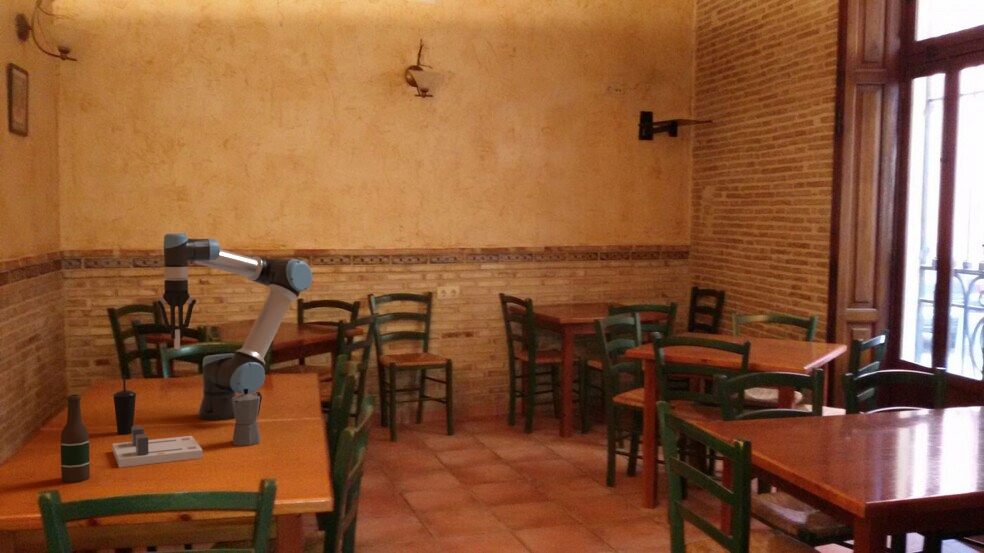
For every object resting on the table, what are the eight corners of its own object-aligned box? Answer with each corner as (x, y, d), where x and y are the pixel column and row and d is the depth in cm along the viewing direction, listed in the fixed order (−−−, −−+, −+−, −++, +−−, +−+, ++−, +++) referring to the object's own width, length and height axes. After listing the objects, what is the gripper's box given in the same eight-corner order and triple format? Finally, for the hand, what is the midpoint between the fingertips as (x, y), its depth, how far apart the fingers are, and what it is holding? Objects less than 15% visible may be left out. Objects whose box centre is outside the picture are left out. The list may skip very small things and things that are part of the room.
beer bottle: (66, 475, 258) (64, 392, 257) (94, 474, 259) (92, 392, 257) (55, 483, 251) (53, 398, 249) (84, 483, 251) (82, 398, 250)
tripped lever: (146, 449, 276) (146, 433, 276) (148, 453, 271) (148, 437, 271) (135, 451, 275) (135, 434, 274) (137, 454, 270) (137, 438, 270)
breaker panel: (191, 443, 295) (191, 435, 295) (202, 458, 278) (202, 449, 277) (112, 451, 284) (112, 443, 284) (118, 467, 266) (118, 458, 266)
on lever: (141, 441, 287) (141, 425, 286) (143, 444, 282) (143, 428, 282) (131, 442, 285) (131, 426, 285) (133, 445, 281) (133, 429, 280)
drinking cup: (128, 436, 304) (127, 377, 302) (108, 434, 305) (107, 376, 304) (142, 430, 311) (140, 373, 310) (122, 429, 313) (120, 372, 311)
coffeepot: (247, 448, 289) (247, 393, 288) (222, 446, 292) (221, 391, 291) (273, 437, 304) (272, 384, 302) (249, 435, 307) (248, 383, 305)
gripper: (194, 278, 310) (195, 345, 312) (154, 278, 304) (155, 348, 306) (198, 279, 304) (199, 348, 305) (157, 280, 298) (158, 351, 299)
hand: (177, 348), depth 306 cm, fingers closed
